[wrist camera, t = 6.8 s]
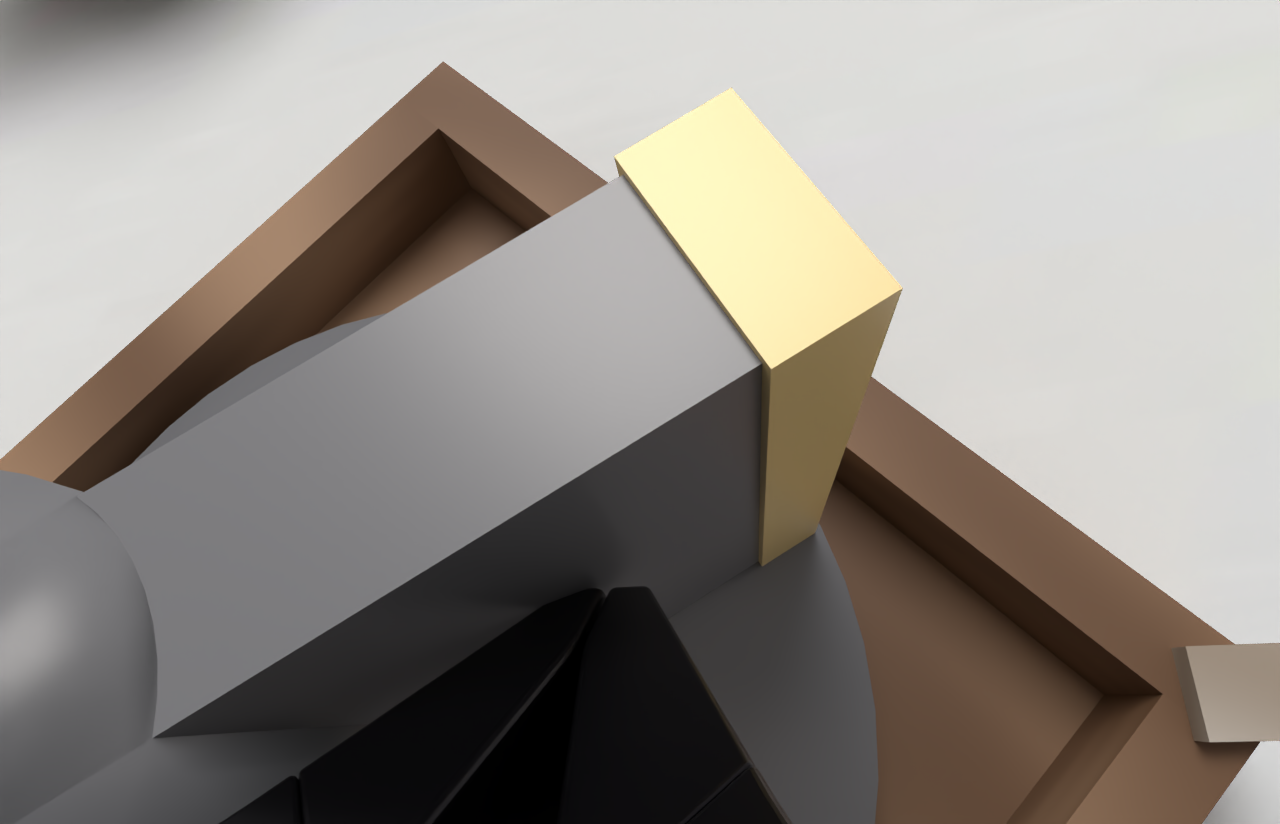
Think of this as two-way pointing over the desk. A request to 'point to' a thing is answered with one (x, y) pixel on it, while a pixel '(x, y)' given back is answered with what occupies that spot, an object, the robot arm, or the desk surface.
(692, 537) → the knob
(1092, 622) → the dial base
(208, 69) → the desk surface
